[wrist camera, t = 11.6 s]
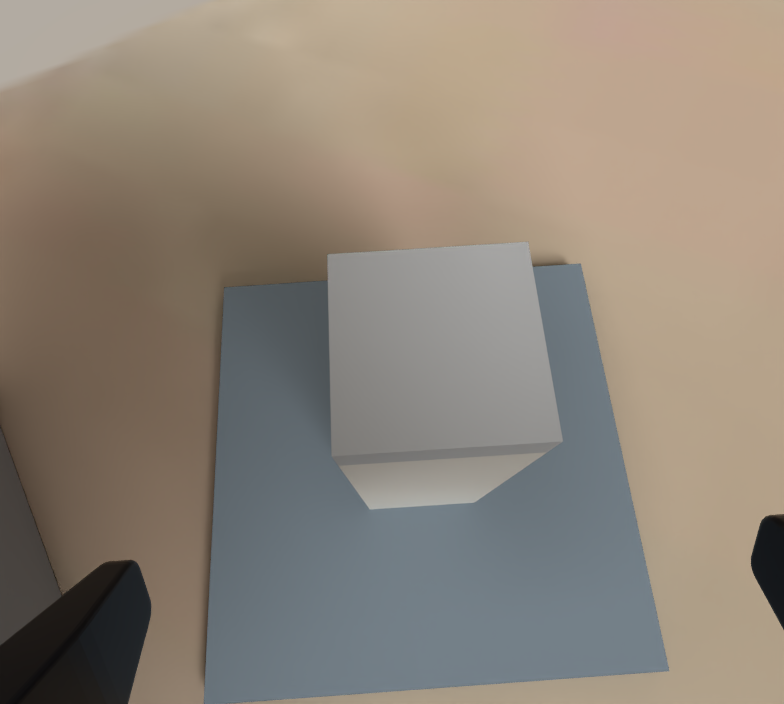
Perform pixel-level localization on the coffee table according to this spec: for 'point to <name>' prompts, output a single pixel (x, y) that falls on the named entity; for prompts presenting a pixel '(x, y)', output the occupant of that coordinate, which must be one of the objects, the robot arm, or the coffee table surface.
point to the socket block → (20, 555)
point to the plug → (437, 372)
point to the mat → (412, 532)
